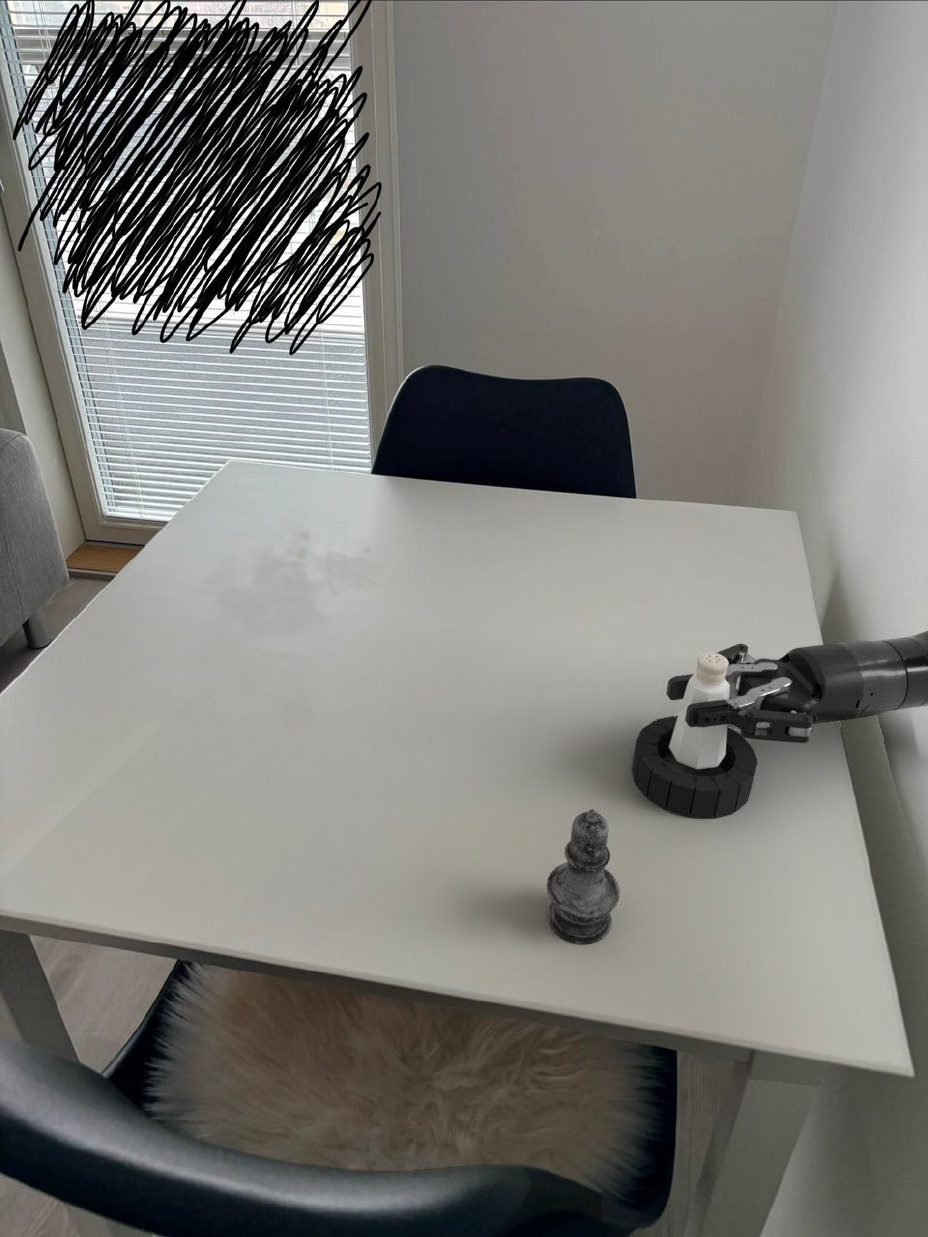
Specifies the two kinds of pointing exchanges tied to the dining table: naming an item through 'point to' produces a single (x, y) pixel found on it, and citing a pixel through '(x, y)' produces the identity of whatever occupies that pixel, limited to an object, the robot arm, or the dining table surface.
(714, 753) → the pepper shaker
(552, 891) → the grey chess piece
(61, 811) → the dining table surface
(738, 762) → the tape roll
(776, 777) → the dining table surface
